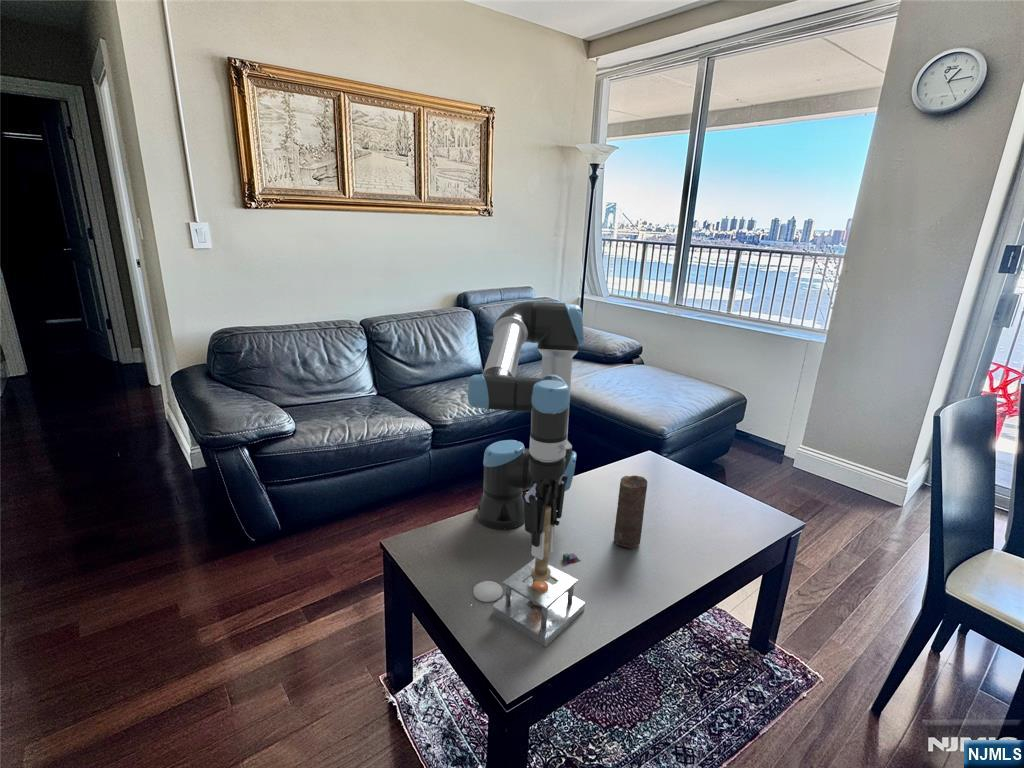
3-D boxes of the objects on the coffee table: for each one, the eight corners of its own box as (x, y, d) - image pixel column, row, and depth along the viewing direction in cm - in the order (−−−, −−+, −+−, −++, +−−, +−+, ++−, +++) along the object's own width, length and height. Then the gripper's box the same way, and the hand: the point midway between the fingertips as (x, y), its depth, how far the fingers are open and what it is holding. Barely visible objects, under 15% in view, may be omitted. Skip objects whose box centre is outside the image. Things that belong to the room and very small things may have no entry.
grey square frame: (492, 612, 118) (493, 582, 115) (533, 581, 129) (534, 552, 126) (545, 647, 109) (547, 614, 106) (584, 609, 120) (586, 579, 117)
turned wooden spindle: (526, 575, 116) (530, 507, 111) (538, 566, 119) (542, 500, 114) (542, 584, 113) (546, 515, 108) (554, 574, 116) (558, 507, 111)
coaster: (467, 592, 124) (467, 591, 124) (487, 578, 129) (487, 577, 129) (488, 606, 120) (488, 605, 120) (508, 591, 125) (508, 590, 125)
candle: (640, 553, 141) (648, 487, 136) (613, 549, 143) (619, 483, 137) (639, 537, 148) (647, 474, 143) (613, 534, 150) (619, 471, 144)
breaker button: (528, 600, 118) (528, 585, 116) (537, 592, 120) (538, 578, 119) (540, 608, 115) (541, 593, 114) (550, 600, 118) (551, 585, 117)
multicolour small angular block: (568, 566, 135) (568, 558, 135) (562, 560, 138) (563, 552, 137) (581, 562, 137) (582, 555, 137) (575, 556, 140) (576, 549, 139)
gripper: (538, 473, 99) (533, 577, 106) (583, 449, 111) (576, 544, 118) (508, 461, 104) (505, 562, 111) (554, 439, 116) (549, 532, 122)
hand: (542, 553), depth 114 cm, fingers closed on turned wooden spindle, 3 cm apart
